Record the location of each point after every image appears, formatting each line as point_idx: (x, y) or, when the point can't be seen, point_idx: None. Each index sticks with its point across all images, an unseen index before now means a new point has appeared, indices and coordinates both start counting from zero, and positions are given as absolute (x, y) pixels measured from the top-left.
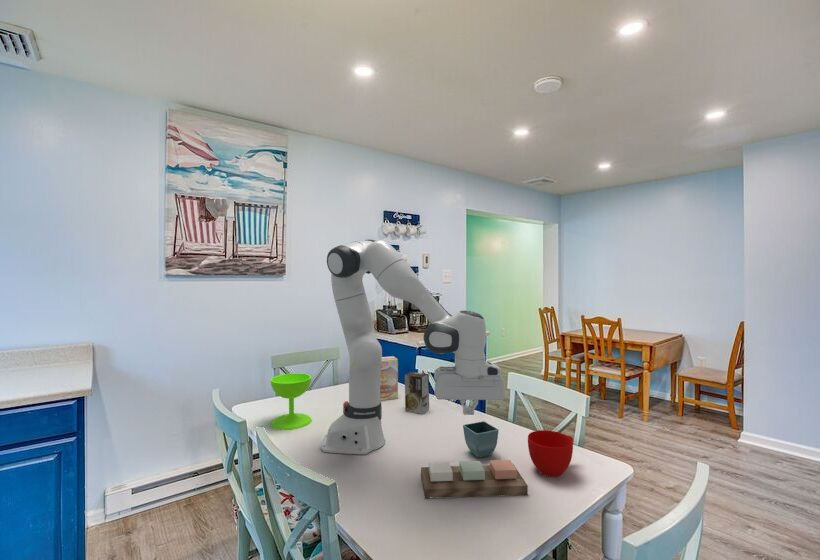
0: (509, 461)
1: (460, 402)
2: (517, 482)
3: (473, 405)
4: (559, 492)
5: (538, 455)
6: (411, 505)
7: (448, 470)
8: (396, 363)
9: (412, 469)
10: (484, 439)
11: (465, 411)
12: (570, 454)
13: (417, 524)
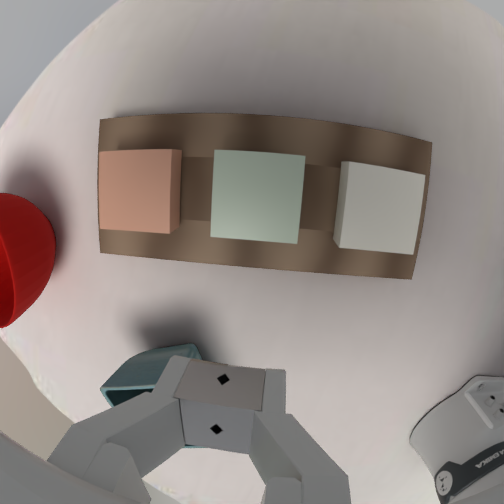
0: (104, 216)
1: (337, 492)
2: (119, 137)
3: (146, 434)
4: (46, 137)
5: (21, 219)
6: (451, 123)
7: (362, 177)
8: None
9: (411, 307)
10: (157, 370)
11: (270, 389)
12: None
13: (440, 50)
